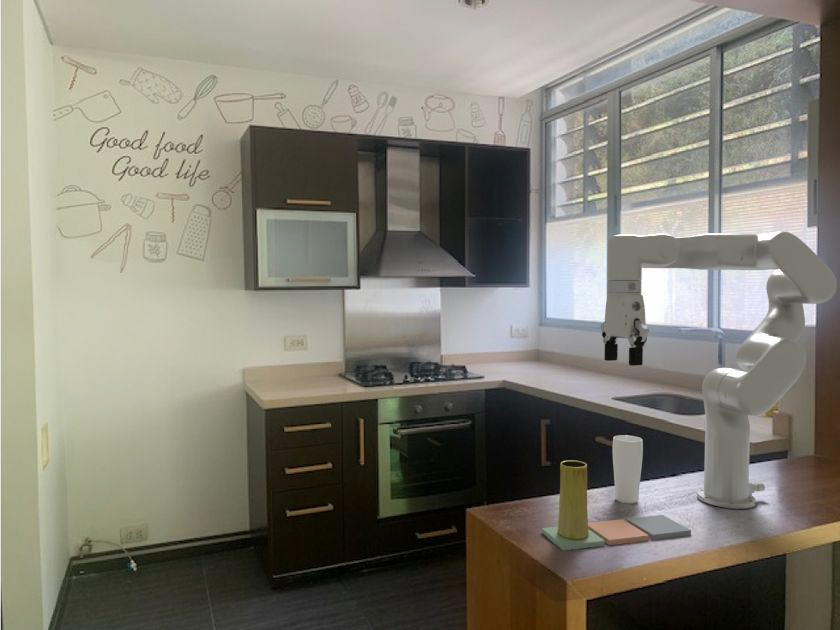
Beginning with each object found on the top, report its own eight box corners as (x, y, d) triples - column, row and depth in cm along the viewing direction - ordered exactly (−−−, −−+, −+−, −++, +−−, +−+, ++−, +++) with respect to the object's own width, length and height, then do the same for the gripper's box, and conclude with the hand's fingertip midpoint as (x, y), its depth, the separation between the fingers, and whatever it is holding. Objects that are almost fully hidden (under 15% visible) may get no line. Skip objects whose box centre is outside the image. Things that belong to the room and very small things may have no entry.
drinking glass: (643, 506, 143) (645, 442, 143) (613, 504, 145) (614, 441, 144) (639, 497, 150) (640, 435, 149) (610, 495, 151) (611, 434, 151)
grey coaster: (662, 519, 135) (662, 514, 135) (690, 535, 127) (690, 530, 127) (626, 523, 133) (626, 518, 133) (652, 539, 124) (653, 534, 124)
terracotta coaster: (622, 523, 133) (622, 519, 133) (648, 540, 124) (648, 535, 124) (585, 528, 130) (585, 523, 130) (609, 545, 122) (609, 540, 121)
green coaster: (580, 528, 130) (580, 523, 130) (604, 545, 121) (604, 540, 121) (541, 532, 127) (541, 528, 127) (563, 550, 119) (563, 545, 119)
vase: (567, 525, 129) (568, 457, 128) (594, 533, 124) (595, 463, 124) (551, 533, 124) (552, 463, 124) (578, 542, 120) (579, 470, 120)
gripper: (662, 288, 135) (660, 366, 136) (616, 288, 152) (615, 358, 152) (632, 288, 133) (631, 367, 134) (589, 288, 150) (588, 359, 150)
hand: (622, 362), depth 143 cm, fingers open, 9 cm apart
